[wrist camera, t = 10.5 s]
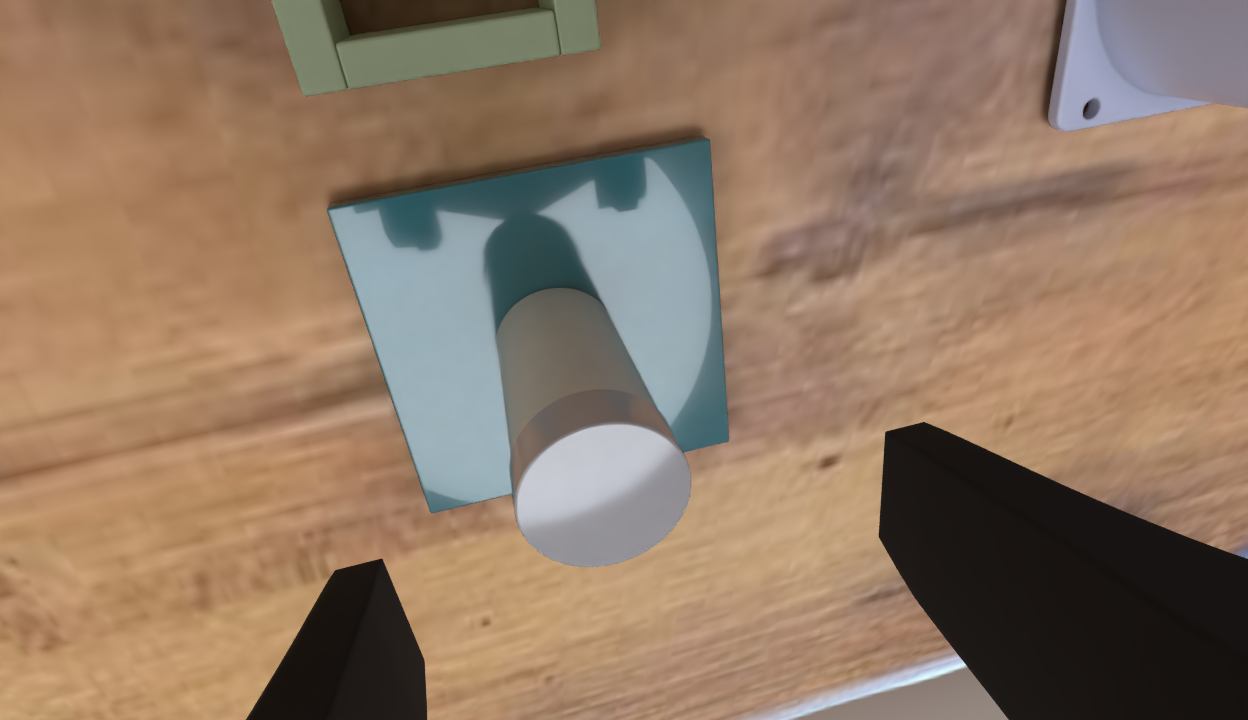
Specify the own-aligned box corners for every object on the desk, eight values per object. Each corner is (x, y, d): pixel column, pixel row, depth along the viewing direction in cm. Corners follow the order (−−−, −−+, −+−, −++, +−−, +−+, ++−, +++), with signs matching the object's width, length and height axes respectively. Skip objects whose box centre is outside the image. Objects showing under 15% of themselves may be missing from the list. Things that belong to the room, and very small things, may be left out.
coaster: (703, 135, 17) (710, 138, 17) (724, 433, 22) (730, 442, 21) (328, 202, 16) (325, 208, 16) (430, 503, 20) (430, 514, 20)
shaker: (609, 272, 18) (684, 403, 12) (625, 383, 19) (698, 543, 14) (480, 299, 17) (496, 447, 12) (507, 410, 19) (533, 586, 13)
